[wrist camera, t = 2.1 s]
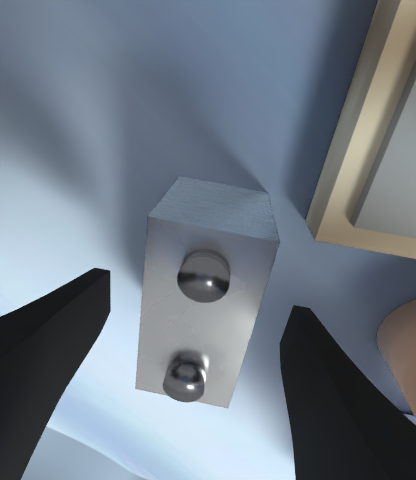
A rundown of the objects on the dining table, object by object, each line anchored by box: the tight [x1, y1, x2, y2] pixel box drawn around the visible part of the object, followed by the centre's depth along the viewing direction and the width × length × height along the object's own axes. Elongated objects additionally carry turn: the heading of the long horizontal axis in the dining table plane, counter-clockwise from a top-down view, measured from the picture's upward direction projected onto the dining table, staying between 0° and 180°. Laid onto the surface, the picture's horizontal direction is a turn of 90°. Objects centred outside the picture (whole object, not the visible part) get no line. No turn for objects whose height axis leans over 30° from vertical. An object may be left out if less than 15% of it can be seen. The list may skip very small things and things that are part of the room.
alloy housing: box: [135, 176, 280, 408], centre depth 12 cm, size 8×4×6 cm, turn 171°
